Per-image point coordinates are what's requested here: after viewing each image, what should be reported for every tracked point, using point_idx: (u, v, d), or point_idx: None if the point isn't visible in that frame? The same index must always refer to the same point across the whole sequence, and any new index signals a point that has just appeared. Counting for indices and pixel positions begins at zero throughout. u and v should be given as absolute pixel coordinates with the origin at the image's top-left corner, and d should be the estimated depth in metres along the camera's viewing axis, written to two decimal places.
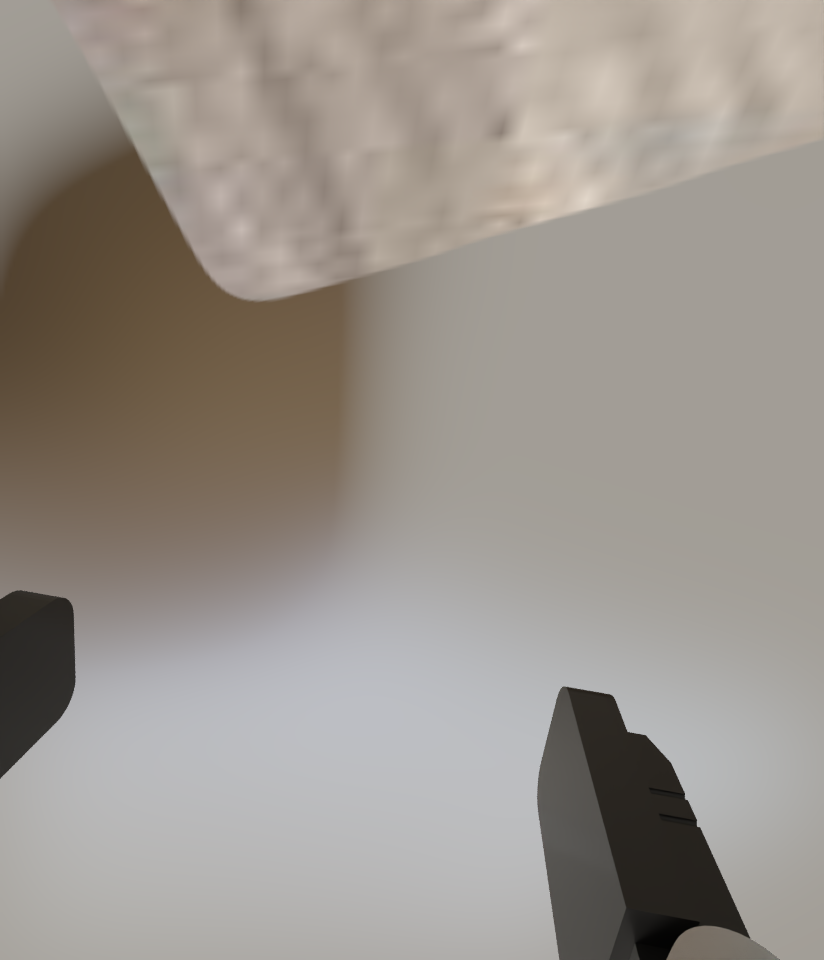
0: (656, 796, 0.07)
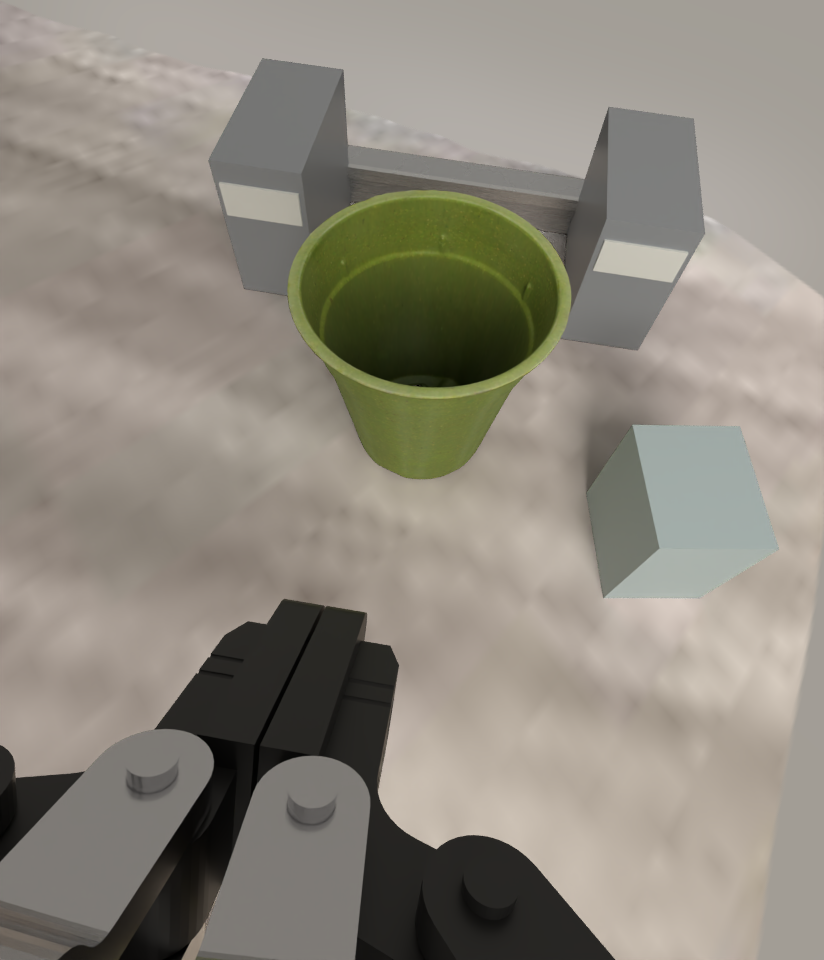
0: (367, 686, 0.09)
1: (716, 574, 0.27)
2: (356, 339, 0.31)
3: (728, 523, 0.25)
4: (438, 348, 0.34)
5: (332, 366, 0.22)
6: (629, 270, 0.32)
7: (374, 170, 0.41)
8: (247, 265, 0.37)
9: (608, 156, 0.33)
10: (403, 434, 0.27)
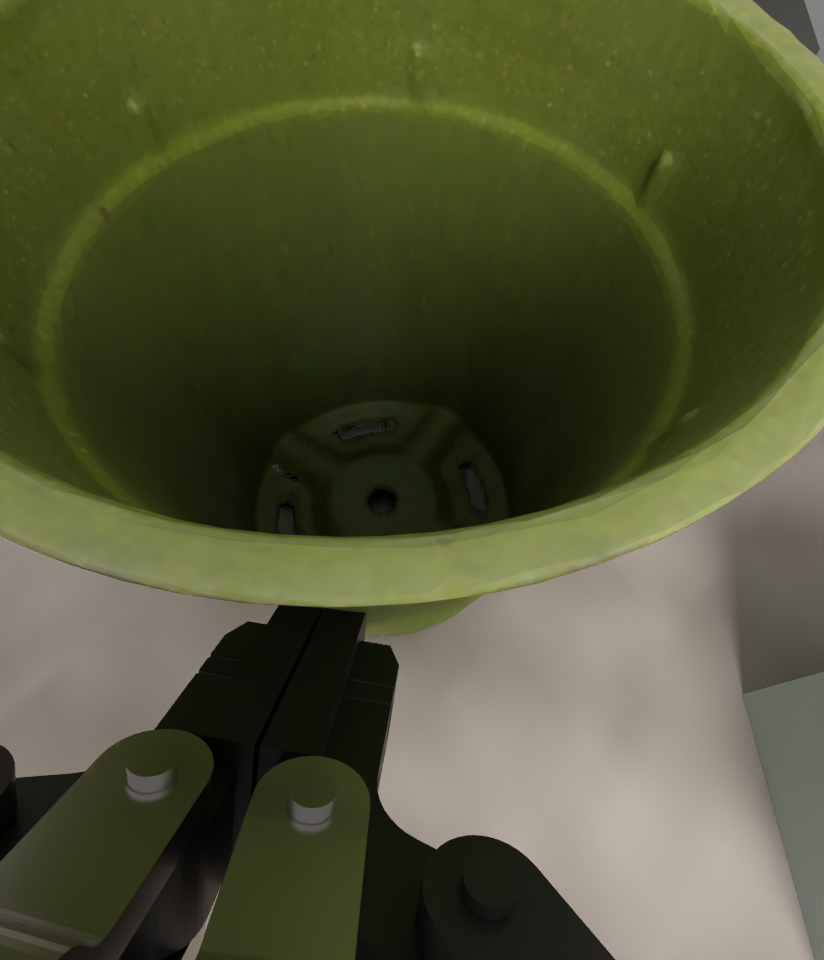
0: (367, 687, 0.09)
1: None
2: (221, 327, 0.13)
3: None
4: (418, 347, 0.16)
5: None
6: None
7: None
8: None
9: None
10: None
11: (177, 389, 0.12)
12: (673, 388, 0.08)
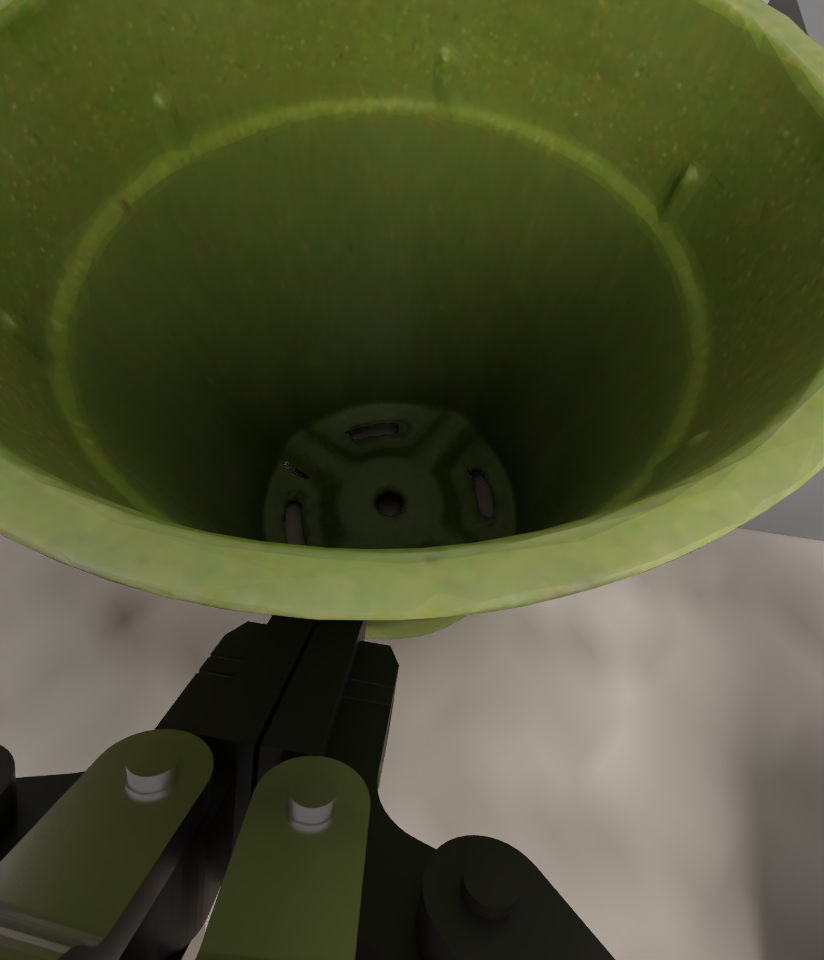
0: (367, 687, 0.09)
1: None
2: (237, 323, 0.13)
3: None
4: (434, 350, 0.16)
5: None
6: None
7: None
8: None
9: None
10: None
11: (190, 383, 0.12)
12: (685, 408, 0.08)
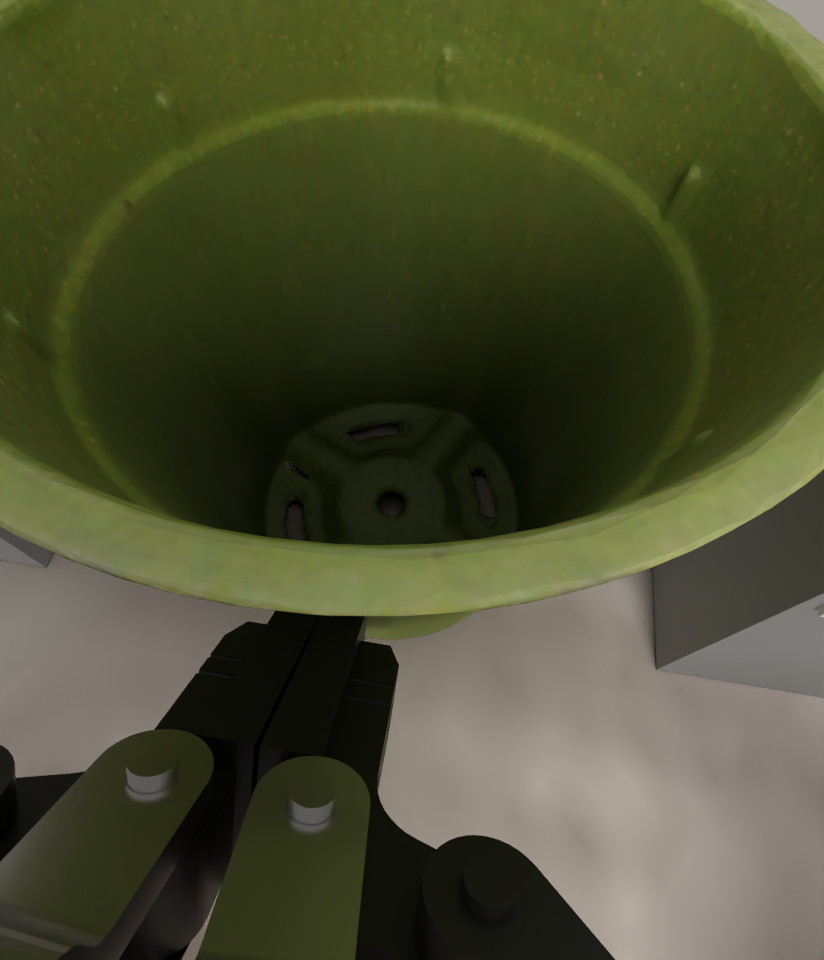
0: (367, 686, 0.09)
1: None
2: (239, 323, 0.13)
3: None
4: (435, 351, 0.16)
5: None
6: None
7: None
8: None
9: None
10: None
11: (192, 382, 0.12)
12: (688, 406, 0.08)
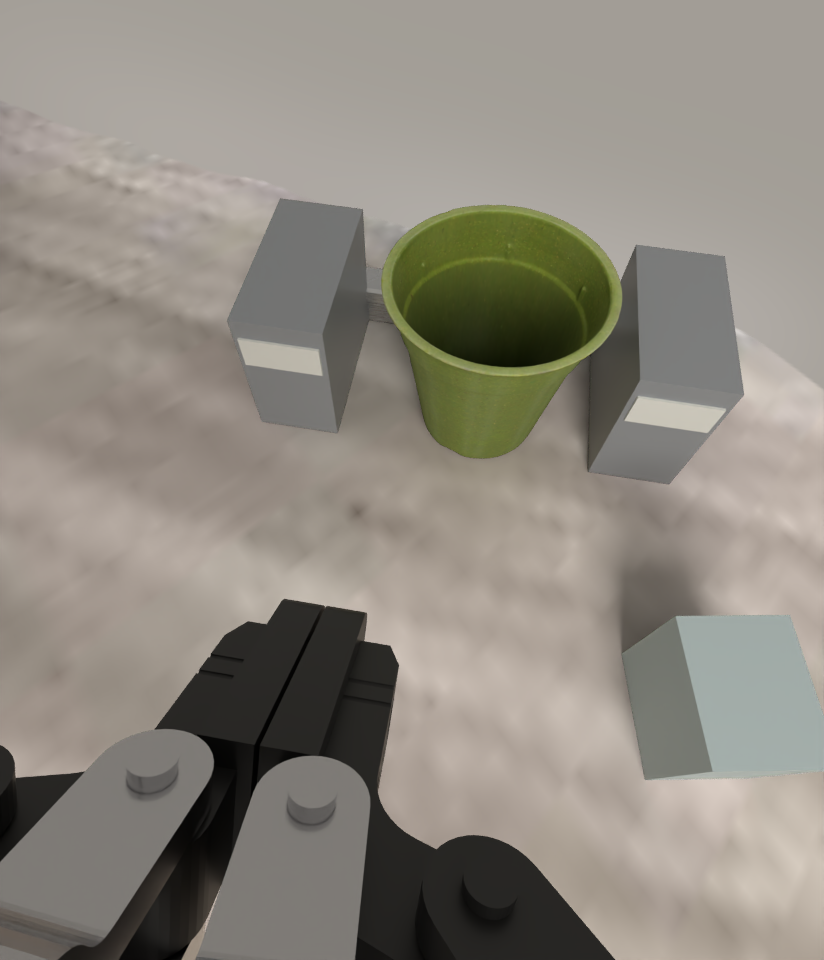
0: (367, 686, 0.09)
1: (769, 774, 0.25)
2: (427, 332, 0.36)
3: (784, 737, 0.23)
4: (496, 344, 0.38)
5: (419, 347, 0.27)
6: (662, 421, 0.31)
7: None
8: (265, 403, 0.36)
9: (638, 304, 0.31)
10: (470, 412, 0.31)
11: None
12: None
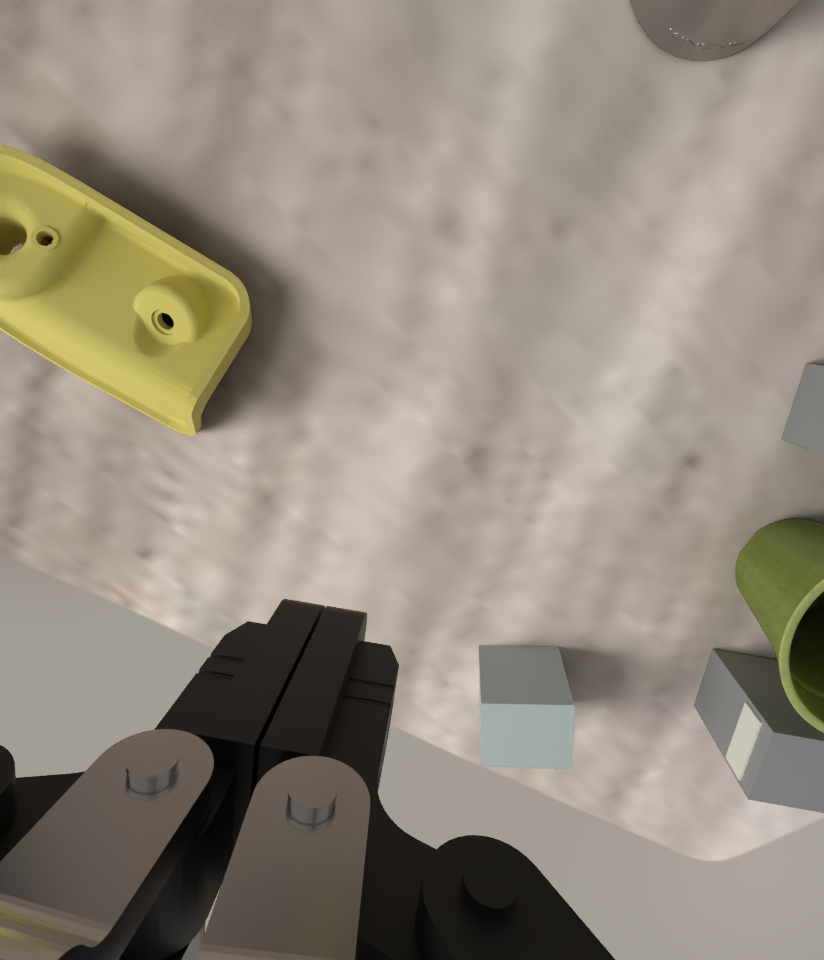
0: (367, 686, 0.09)
1: (480, 722, 0.43)
2: None
3: (498, 744, 0.39)
4: None
5: None
6: (738, 730, 0.38)
7: None
8: (821, 376, 0.36)
9: None
10: (768, 586, 0.35)
11: None
12: (812, 689, 0.34)
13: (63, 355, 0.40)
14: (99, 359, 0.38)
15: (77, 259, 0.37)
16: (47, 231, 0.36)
